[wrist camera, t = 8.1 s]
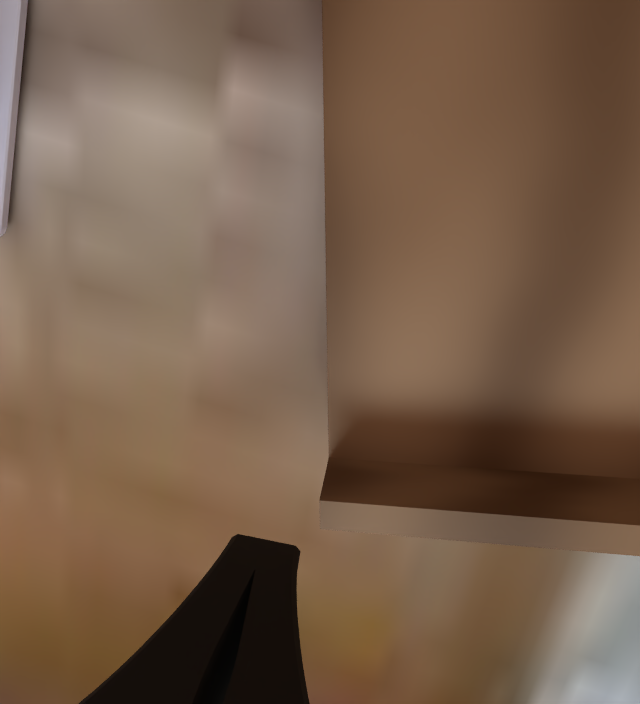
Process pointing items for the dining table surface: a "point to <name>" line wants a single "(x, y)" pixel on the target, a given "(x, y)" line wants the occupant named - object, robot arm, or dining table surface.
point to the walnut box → (483, 271)
